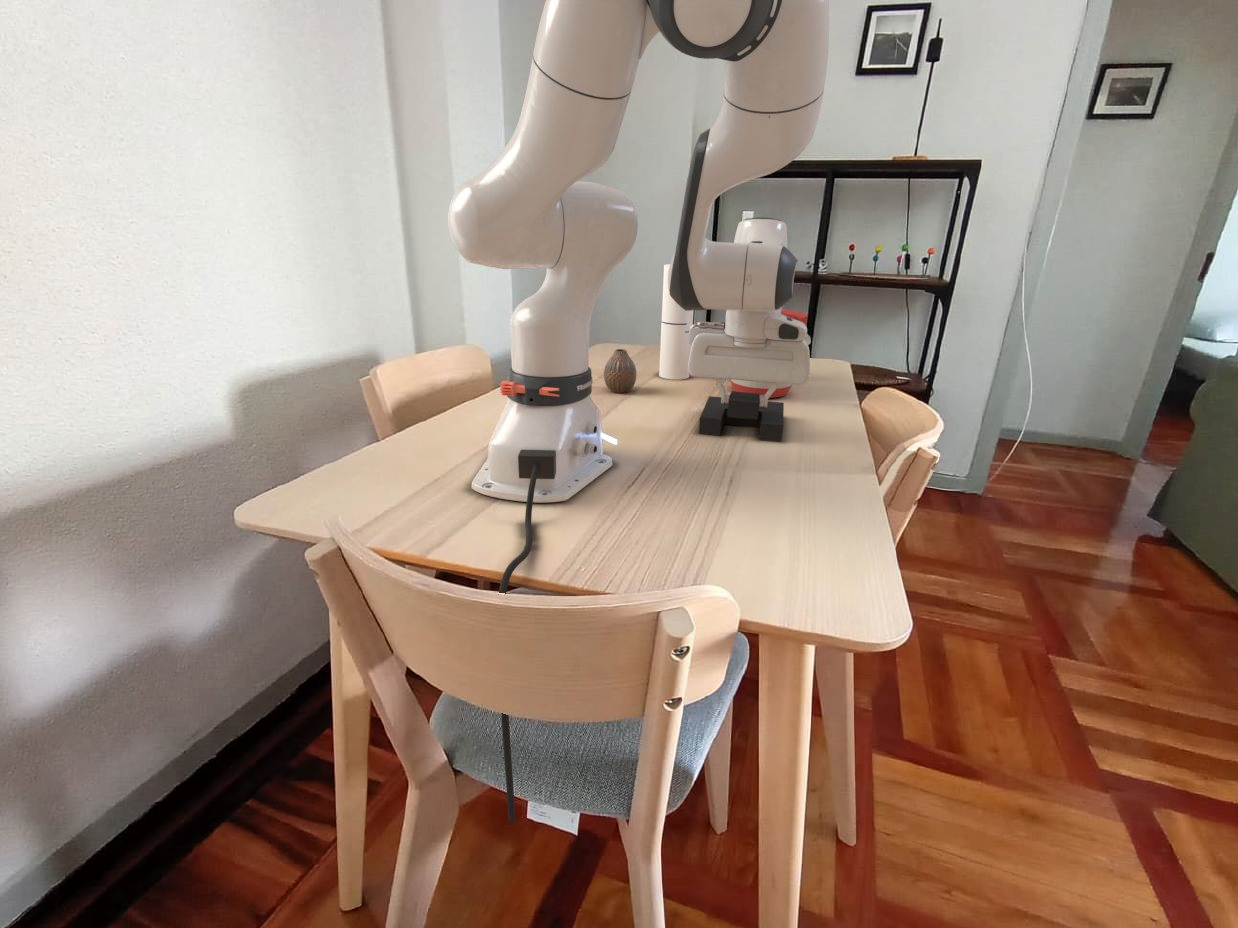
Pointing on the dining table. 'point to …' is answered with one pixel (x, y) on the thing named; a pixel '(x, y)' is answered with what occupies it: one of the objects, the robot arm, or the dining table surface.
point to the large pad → (766, 419)
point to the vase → (620, 372)
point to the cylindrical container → (674, 336)
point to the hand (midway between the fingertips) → (744, 405)
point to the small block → (743, 405)
